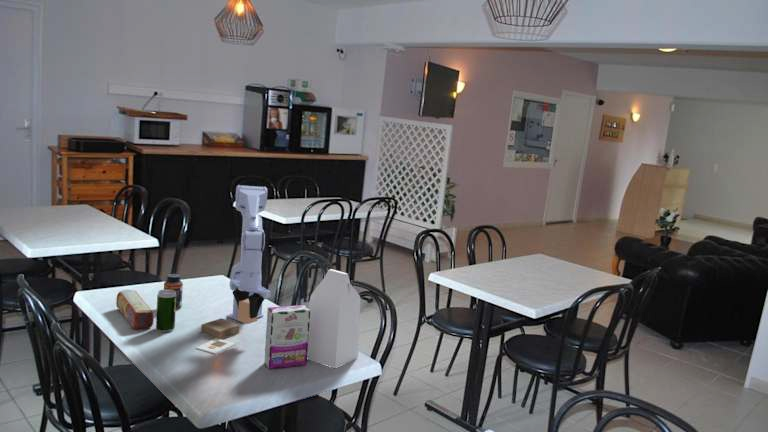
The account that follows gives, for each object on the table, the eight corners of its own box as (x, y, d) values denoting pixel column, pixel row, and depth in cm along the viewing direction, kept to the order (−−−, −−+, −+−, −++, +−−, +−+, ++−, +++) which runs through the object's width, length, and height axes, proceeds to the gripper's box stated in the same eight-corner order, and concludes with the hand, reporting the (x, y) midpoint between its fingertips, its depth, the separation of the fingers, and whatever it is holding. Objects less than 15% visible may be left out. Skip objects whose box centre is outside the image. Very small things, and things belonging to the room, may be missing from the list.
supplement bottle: (185, 308, 205) (187, 275, 203) (170, 312, 200) (172, 279, 198) (173, 303, 208) (175, 271, 206) (159, 307, 203) (160, 274, 201)
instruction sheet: (216, 338, 182) (216, 337, 182) (235, 344, 180) (235, 343, 180) (196, 348, 174) (196, 347, 174) (216, 354, 172) (216, 353, 172)
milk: (301, 356, 176) (309, 270, 172) (325, 345, 186) (333, 263, 181) (335, 369, 170) (343, 280, 166) (358, 357, 180) (366, 272, 175)
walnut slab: (220, 327, 193) (221, 318, 192) (238, 334, 189) (239, 325, 188) (201, 333, 186) (201, 324, 186) (219, 341, 182) (219, 331, 182)
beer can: (158, 333, 182) (159, 295, 180) (154, 327, 186) (155, 289, 184) (176, 331, 185) (178, 293, 183) (172, 325, 189) (173, 288, 187)
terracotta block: (247, 317, 183) (248, 298, 182) (257, 320, 181) (258, 301, 180) (237, 320, 180) (238, 301, 179) (247, 324, 178) (248, 304, 177)
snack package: (154, 329, 185) (155, 308, 184) (132, 332, 181) (132, 310, 180) (136, 307, 202) (137, 287, 201) (115, 309, 198) (115, 289, 197)
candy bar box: (300, 358, 175) (305, 304, 172) (307, 365, 170) (311, 310, 168) (262, 362, 170) (267, 306, 167) (268, 370, 165) (272, 312, 162)
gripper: (223, 268, 178) (220, 312, 181) (259, 279, 171) (256, 325, 173) (240, 264, 184) (237, 306, 186) (276, 275, 177) (273, 319, 179)
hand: (247, 315), depth 180 cm, fingers closed on terracotta block, 4 cm apart
